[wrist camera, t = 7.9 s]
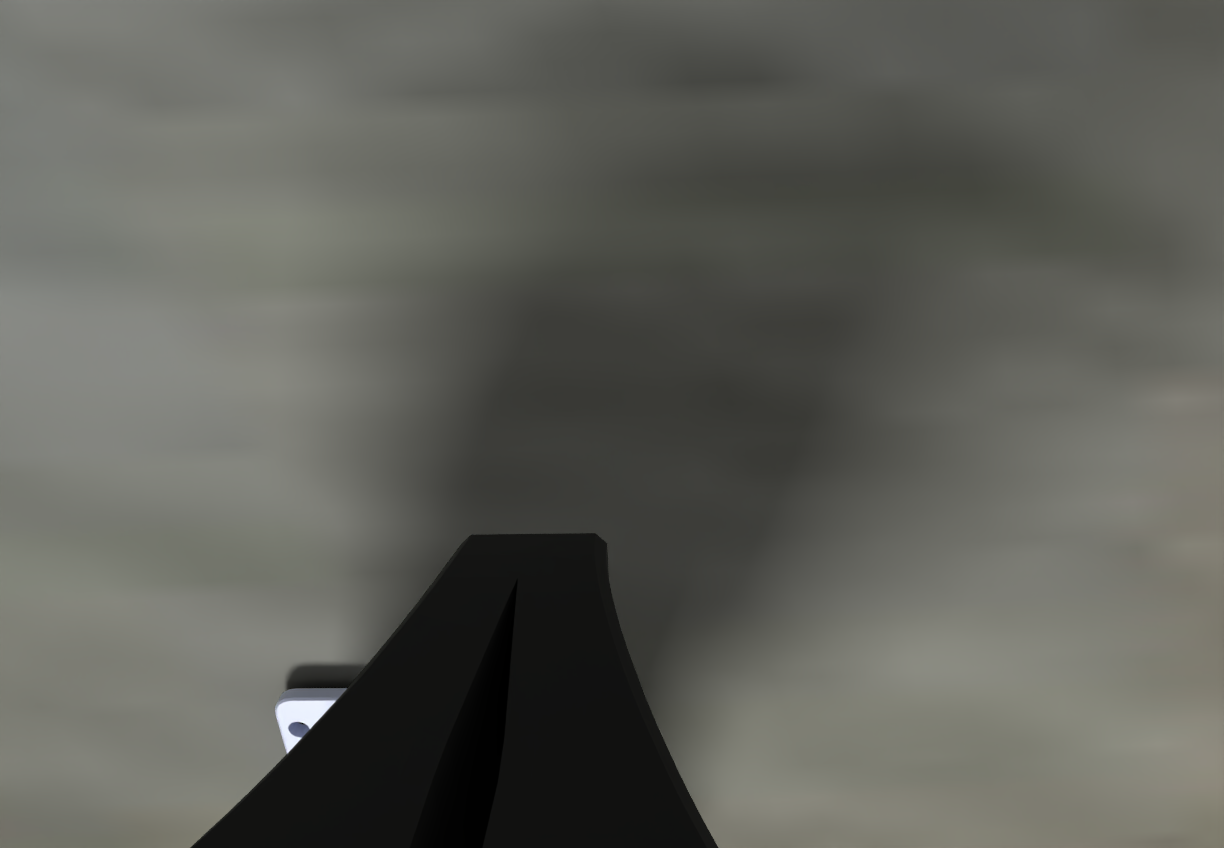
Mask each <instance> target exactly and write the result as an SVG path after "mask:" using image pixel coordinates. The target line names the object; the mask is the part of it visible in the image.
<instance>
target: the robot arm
mask: <svg viewBox="0 0 1224 848" xmlns="http://www.w3.org/2000/svg"><path fill="white" fill-rule="evenodd" d="M275 714H276V718H277V721H278V724H279V728H280V731H281V735H282V738H283V742H284V745H285V749H286V752H287V754H286V756H285V757H284V758H283V759H282V760H281V761H280V762H279V763H278V764H277V765H276V766H275V767H274V768H273V769H272V770H271V771H270V772H269V773H268V774H267V775H266V776H265V777H264V778H263V779H262V780H261V781H260V782H259V783H258V784H257V785H256V786H255V787H254V788H253V789H252V790H251V791H250V792H249V793H248V794H247V795H246V796H245V797H244V798H243V799H242V800H241V801H240V802H239V803H238V804H237V805H236V806H235V807H233V808H232V809H231V810H230V811H229V812H228V813H227V814H226V815H225V816H224V817H223V818H222V819H221V820H220V821H219V822H218V823H216V824H215V825H214V826H213V827H212V828H211V829H210V830H209V831H208V832H207V833H206V834H205V835H203V836H202V837H201V838H200V839H199V840H198V841H197V842H196V843H195V844H194V845H193V846H192V847H191V848H718V846H717V845H716V843H715V841H714V839H713V837H712V836H711V834H710V832H709V830H708V828H707V827H706V825H705V823H704V821H703V819H702V817H701V815H700V814H699V812H698V810H697V808H696V806H695V804H694V802H693V800H692V798H691V796H690V794H689V792H688V790H687V788H686V786H685V784H684V782H683V780H682V778H681V776H680V774H679V772H678V770H677V768H676V766H675V763H674V761H673V759H672V757H671V755H670V753H669V750H668V748H667V746H666V744H665V742H664V740H663V737H662V735H661V733H660V731H659V729H658V726H657V724H656V722H655V719H654V717H653V715H652V712H651V710H650V707H649V705H648V703H647V700H646V698H645V695H644V693H643V690H642V687H641V685H640V682H639V679H638V676H637V674H636V671H635V668H634V666H633V663H632V660H631V658H630V655H629V652H628V649H627V647H626V644H625V640H624V637H623V634H622V631H621V628H620V625H619V621H618V617H617V613H616V610H615V606H614V602H613V598H612V594H611V589H610V584H609V575H608V554H607V543H606V542H605V541H604V540H602V539H601V538H600V537H599V536H598V535H597V534H595V533H586V534H497V535H471V536H469V537H468V538H467V539H466V540H465V541H464V542H463V543H462V544H461V545H460V547H459V548H458V549H457V551H456V552H455V553H454V555H453V556H452V558H451V559H450V560H449V562H448V563H447V564H446V566H445V567H444V568H443V570H442V571H441V572H440V574H439V575H438V576H437V578H436V579H435V581H434V582H433V583H432V585H431V586H430V587H429V588H428V590H427V591H426V592H425V594H424V595H423V596H422V598H421V599H420V600H419V602H418V603H417V604H416V605H415V607H414V608H413V609H412V610H411V612H410V613H409V614H408V616H407V617H406V618H405V619H404V621H403V622H402V623H401V625H400V626H399V627H398V628H397V630H396V631H395V632H394V633H393V634H392V636H391V637H390V638H389V639H388V640H387V642H386V643H385V644H384V645H383V646H382V648H381V649H380V650H379V651H378V652H377V654H376V655H375V656H374V657H373V658H372V660H371V661H370V662H369V663H368V664H367V666H366V667H365V668H364V669H363V670H362V672H361V673H360V674H359V675H358V676H357V678H356V679H355V680H354V681H353V682H352V684H351V685H350V686H349V687H348V688H295V689H289V690H287V691H285V692H283V693H282V694H281V696H280V698H279V700H278V702H277V704H276V706H275ZM298 722H302V723H304V724H306V725H303V724H300V723H298Z"/></svg>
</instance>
